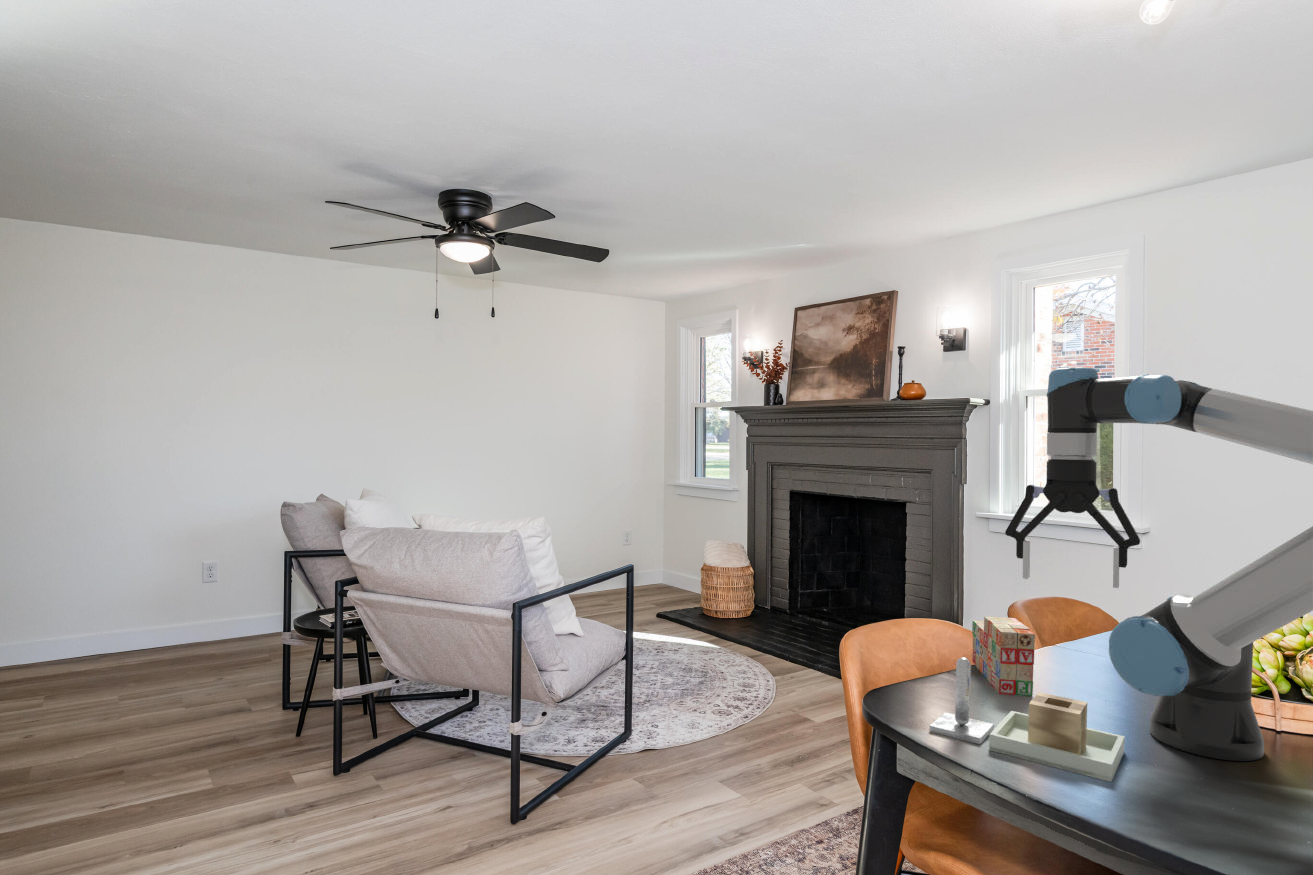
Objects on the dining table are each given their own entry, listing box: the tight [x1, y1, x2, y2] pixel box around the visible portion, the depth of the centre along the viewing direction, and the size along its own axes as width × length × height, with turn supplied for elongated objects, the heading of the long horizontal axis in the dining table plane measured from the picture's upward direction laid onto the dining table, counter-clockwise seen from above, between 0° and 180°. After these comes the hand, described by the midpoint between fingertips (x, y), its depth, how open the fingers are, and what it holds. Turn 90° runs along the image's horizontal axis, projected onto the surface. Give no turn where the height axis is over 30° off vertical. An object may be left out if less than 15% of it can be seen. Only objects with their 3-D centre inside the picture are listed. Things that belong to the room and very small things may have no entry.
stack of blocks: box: [971, 616, 1036, 697], centre depth 156 cm, size 21×6×12 cm, turn 171°
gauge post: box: [929, 657, 995, 745], centre depth 127 cm, size 8×8×12 cm
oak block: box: [1028, 691, 1088, 755], centre depth 120 cm, size 7×7×7 cm
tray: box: [988, 710, 1126, 783], centre depth 120 cm, size 17×14×2 cm
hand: (1069, 582), depth 131 cm, fingers open, 13 cm apart
